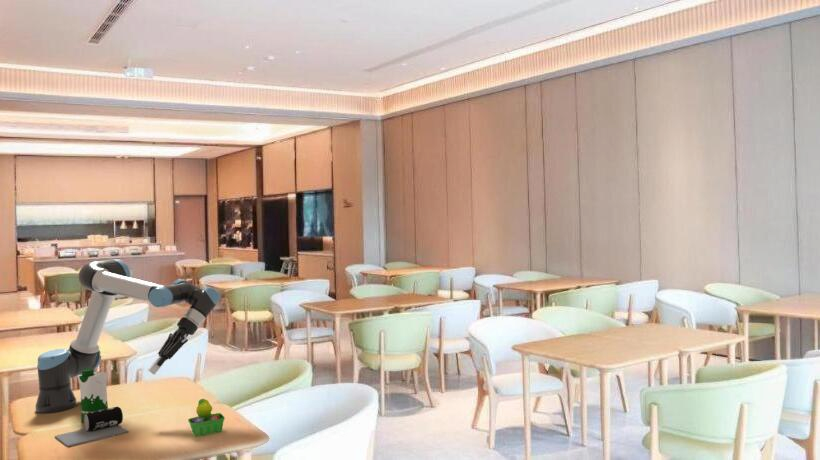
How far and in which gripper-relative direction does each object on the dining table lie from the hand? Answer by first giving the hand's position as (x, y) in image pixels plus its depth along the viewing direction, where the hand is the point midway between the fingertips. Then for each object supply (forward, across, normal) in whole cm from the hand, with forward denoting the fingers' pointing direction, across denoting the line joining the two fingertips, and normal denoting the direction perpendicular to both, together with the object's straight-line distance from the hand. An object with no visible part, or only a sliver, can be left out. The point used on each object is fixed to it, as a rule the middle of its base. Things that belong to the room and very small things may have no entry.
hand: (151, 372), depth 258 cm
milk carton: (+24, -18, +2) cm, 30 cm away
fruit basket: (+8, +31, +18) cm, 37 cm away
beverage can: (+18, -3, +2) cm, 18 cm away
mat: (+29, 0, -3) cm, 29 cm away
